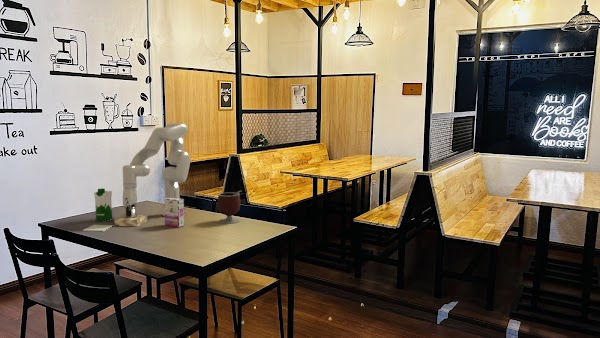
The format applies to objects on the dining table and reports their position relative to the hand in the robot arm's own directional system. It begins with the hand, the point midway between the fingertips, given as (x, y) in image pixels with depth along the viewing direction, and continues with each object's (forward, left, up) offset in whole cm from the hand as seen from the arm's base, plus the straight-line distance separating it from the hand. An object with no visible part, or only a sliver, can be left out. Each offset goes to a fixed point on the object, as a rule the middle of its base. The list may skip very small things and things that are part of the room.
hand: (131, 215), depth 272 cm
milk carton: (+20, -6, -5) cm, 22 cm away
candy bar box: (-28, +3, -5) cm, 29 cm away
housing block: (0, 0, -5) cm, 5 cm away
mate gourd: (-58, -11, -5) cm, 60 cm away
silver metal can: (0, 0, -5) cm, 5 cm away
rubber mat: (+13, +14, -5) cm, 20 cm away
